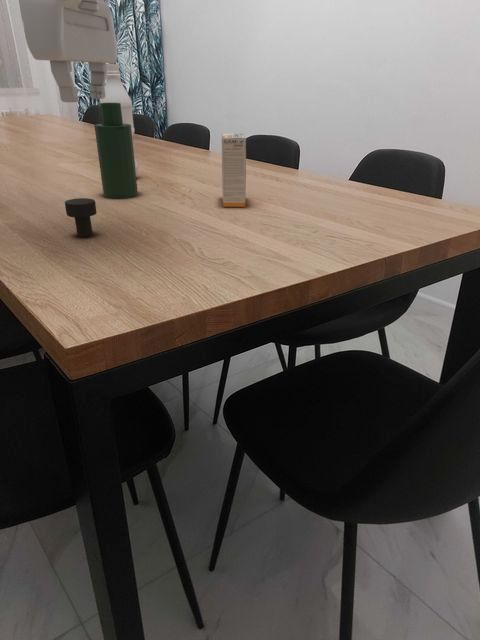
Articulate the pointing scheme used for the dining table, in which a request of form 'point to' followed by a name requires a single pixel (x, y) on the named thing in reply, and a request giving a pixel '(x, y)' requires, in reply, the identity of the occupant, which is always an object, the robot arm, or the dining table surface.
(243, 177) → the supplement box
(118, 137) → the glass bottle
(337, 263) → the dining table surface
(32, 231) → the dining table surface
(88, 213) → the stopper
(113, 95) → the water bottle
